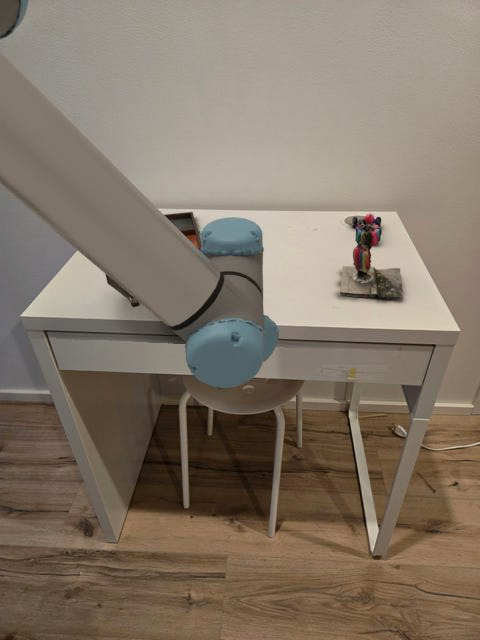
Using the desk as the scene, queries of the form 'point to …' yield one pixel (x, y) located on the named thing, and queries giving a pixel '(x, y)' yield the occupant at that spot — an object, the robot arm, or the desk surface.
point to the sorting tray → (186, 226)
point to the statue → (369, 268)
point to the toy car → (362, 221)
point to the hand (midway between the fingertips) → (115, 249)
